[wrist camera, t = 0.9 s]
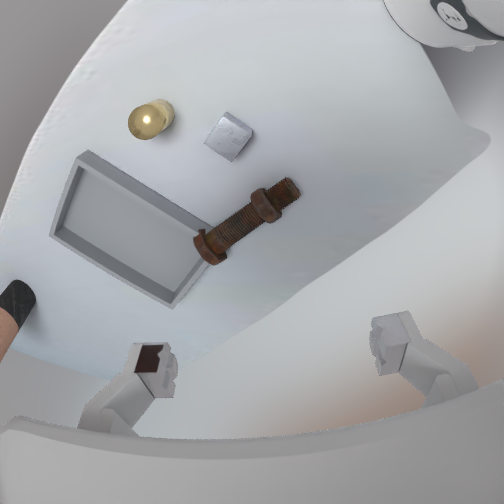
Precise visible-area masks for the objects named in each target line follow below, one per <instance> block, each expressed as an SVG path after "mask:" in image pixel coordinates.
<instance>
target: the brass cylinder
mask: <svg viewBox="0 0 504 504" xmlns="http://www.w3.org/2000/svg"><path fill="white" fill-rule="evenodd" d="M173 119H174V110H173V107H172V106H171V104H170V103H168V102H167V101H165V100H155V101H152V102H150V103H147V104H145V105H142V106H140V107H138V108H136V109H134V110H133V111H132V113H131V114H130V116H129V119H128V126H129V130H130V132H131V133H132V134H133V135H134V136H135V137H136V138H138V139H141V140H148V139H151V138H153V137H155V136H156V135H157V134H159V133H160V132H161V131H162V130H164V129H165V128H166V127H168V126H169V125H170V124H171V123H172V121H173Z"/></svg>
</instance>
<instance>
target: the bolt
mask: <svg viewBox="0 0 504 504" xmlns="http://www.w3.org/2000/svg"><path fill="white" fill-rule="evenodd" d="M300 195H301V194H300V193H299V190H298V188H297V187H296V186H295V185H294V183H293V182H292V181H291V180H290V179H289V178H286V177H285V179H283V181H282V180H281V182H279V184H278V183H277V185H274V186H272V188H270V189H268V191H266V190H265V189H264V188H260V189H258V190H256V191H255V192H253V193H252V194H251V203H249V204H247V206H245V207H243V209H241V210H239V211H238V212H237V213H235V214H234V215H233V216H231V217H229V219H227V220H226V221H224V222H223V223H221V224H220V225H219V226H217V227H215V228H214V229H212V230H211V231H210V232H208V233H207V234H206V231H205V229H199V230H198V232H199V234H198V235H197V236H196V237H194V236H193V242H194V246H195V248H196V249H197V251H198V253H199V254H200V256H201V257H202V258H203V259H204V260H205V261H206V262H208V263H209V264H211V265H217V264H219V263H221V262H222V261H224V260H225V259H227V255H226V252H225V251H226V250H227V249H229V248H230V247H231V246H232V245H233V244H234V243H235V242H237V241H238V240H240V239H241V238H243V237H244V236H246V235H247V234H249V232H251V231H253V229H255V228H257V226H258V227H259V225H261V224H263V222H265V221H266V222H267V223H269V224H270V223H273V222H275V221H276V220H278V219H279V218H281V217H282V212H281V210H282V209H284V207H286V206H288V204H291V203H293V201H295V200H297V198H298V199H299V196H300Z"/></svg>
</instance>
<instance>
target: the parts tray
mask: <svg viewBox="0 0 504 504" xmlns="http://www.w3.org/2000/svg"><path fill="white" fill-rule="evenodd" d="M199 229H205V231H206V234H207V233H208V232H210V231H211V230H212V229H214V228H213V227H211V226H210V225H208V224H207V223H205V222H203V221H202V220H200V219H199V218H197V217H195V216H194V215H192V214H191V213H189V212H187V211H186V210H184V209H182V208H181V207H179V206H178V205H176V204H174V203H173V202H171V201H170V200H168V199H166V198H165V197H163V196H161V195H160V194H158V193H157V192H155V191H153V190H152V189H150V188H149V187H147V186H145V185H144V184H142V183H141V182H139V181H137V180H136V179H134V178H132V177H131V176H129V175H128V174H126V173H124V172H123V171H121V170H120V169H118V168H116V167H115V166H113V165H112V164H110V163H108V162H107V161H105V160H103V159H102V158H100V157H99V156H97V155H95V154H94V153H92V152H91V151H89V150H87V151H86V152H84V153H82V154H81V155H79V156H78V157H76V159H75V161H74V164H73V166H72V169H71V171H70V174H69V177H68V179H67V182H66V185H65V187H64V190H63V193H62V196H61V199H60V201H59V204H58V207H57V210H56V214H55V217H54V220H53V223H52V226H51V230H50V233H49V236H50V237H51V238H53V239H54V240H56V241H58V242H59V243H61V244H62V245H64V246H65V247H67V248H68V249H70V250H71V251H73V252H75V253H76V254H78V255H79V256H81V257H82V258H84V259H86V260H87V261H89V262H91V263H92V264H94V265H95V266H97V267H99V268H100V269H102V270H104V271H105V272H107V273H109V274H110V275H112V276H114V277H115V278H117V279H119V280H121V281H122V282H124V283H126V284H128V285H129V286H131V287H133V288H134V289H136V290H138V291H140V292H142V293H143V294H145V295H147V296H149V297H151V298H152V299H154V300H156V301H158V302H160V303H161V304H163V305H165V306H167V307H169V308H171V309H174V307H175V306H176V305H177V304H178V302H179V301H180V300H181V299H182V297H183V296H184V295H185V293H186V292H187V291H188V290H189V288H190V287H191V286H192V285H193V283H194V282H195V281H196V280H197V278H198V277H199V276H200V275H201V273H202V272H203V271H204V269H205V268H206V267H207V266H208V264H209V263H208V262H206V261H205V260H204V259H203V258H202V257H201V256H200V254H199V253H198V251H197V249H196V248H195V246H194V242H193V236H194V237H196V236H197V235H198V234H199V232H198V230H199Z"/></svg>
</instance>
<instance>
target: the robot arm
mask: <svg viewBox="0 0 504 504" xmlns="http://www.w3.org/2000/svg"><path fill="white" fill-rule="evenodd" d="M384 2H385V5H386V7H387V9H388V11H389V13H390V14H391V16H392V17H393V19H394V20H395V22H396V23H397V24H398V25H399V26H400V27H401V28H402V29H403V30H404V31H405V32H406V33H407V34H408V35H410V36H411V37H412V38H414V39H415V40H417V41H419V42H421V43H423V44H425V45H429V46H432V47H438V48H444V47H455V48H457V49H460V50H462V51H465V52H472V51H474V49H475V47H476V46H482V45H493V44H496V43H497V41H499V42H502V41H504V0H384ZM371 325H372V328H373V330H372V331H371V332H370V337H369V338H370V348H371V351H372V354H373V355H374V356H375V357H376V362H375V364H376V367H377V370H378V373H379V376H382V375H386V374H392V373H397V372H399V373H400V374H401V375H402V376H403V377H404V378H405V379H406V380H407V381H408V382H409V383H411V384H412V385H413V386H414V387H415V388H416V389H418V391H420V392H421V393H422V394H423V395H424V396H425V397H426V400H425V401H424V403H423V405H422V407H421V409H419V410H415V411H411V412H408V413H404V414H401V415H397V416H393V417H389V418H384V419H380V420H376V421H371V422H367V423H362V424H357V425H352V426H347V427H341V428H335V429H329V430H323V431H316V432H309V433H301V434H293V435H285V436H273V437H260V438H245V439H244V438H243V439H209V440H208V439H205V440H204V439H203V440H202V439H167V438H151V437H139V435H138V434H136V433H135V432H134V431H133V430H132V427H133V426H134V425H135V424H136V422H137V421H138V420H139V419H140V417H141V416H142V415H143V414H144V412H145V411H146V410H147V408H148V407H149V406H150V405H151V403H152V402H153V401H154V398H173V395H174V390H175V383H174V382H173V380H174V379H175V378H176V377H177V373H178V363H177V359H176V357H175V355H174V354H172V353H171V352H170V350H171V347H170V345H169V344H168V343H167V342H158V343H134V344H133V345H132V346H131V348H130V351H129V354H128V357H127V360H126V364H125V367H124V370H123V373H119V374H118V375H117V376H116V377H115V378H114V379H113V380H111V381H110V382H109V383H108V384H107V385H106V386H105V387H104V388H103V389H102V390H101V391H100V392H99V393H98V394H96V395H95V396H94V397H93V398H92V399H91V400H90V401H89V402H88V403H87V404H86V405H85V406H84V409H83V412H82V415H81V418H80V421H79V424H78V427H77V428H72V427H67V426H62V425H57V424H53V423H48V422H44V421H40V420H36V419H32V418H28V417H24V416H15V417H14V418H12V419H11V420H9V421H8V422H7V423H6V424H4V425H3V426H2V427H1V428H0V504H504V379H501V380H499V381H497V382H494V383H492V384H490V385H487V386H485V387H483V388H480V389H479V387H478V385H477V382H476V380H475V378H474V376H473V374H472V372H471V370H470V368H469V366H468V365H467V364H465V363H464V362H462V361H461V360H459V359H457V358H456V357H454V356H453V355H451V354H450V353H448V352H446V351H445V350H443V349H442V348H440V347H439V346H437V345H435V344H434V343H432V342H431V341H429V340H427V339H423V338H422V336H421V334H420V332H419V330H418V328H417V326H416V324H415V322H414V320H413V318H412V316H411V314H410V312H409V311H404V312H399V313H394V314H389V315H384V316H379V317H374V318H373V319H372V323H371Z"/></svg>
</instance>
